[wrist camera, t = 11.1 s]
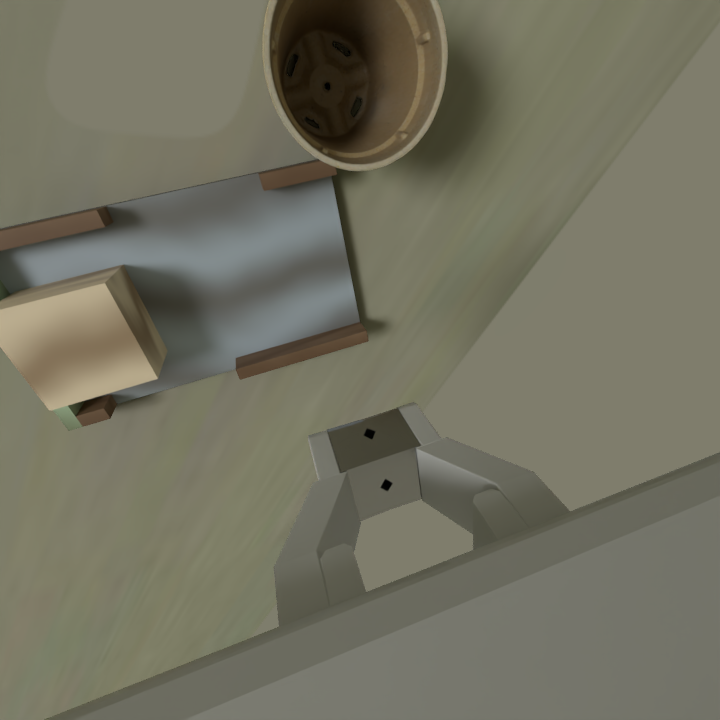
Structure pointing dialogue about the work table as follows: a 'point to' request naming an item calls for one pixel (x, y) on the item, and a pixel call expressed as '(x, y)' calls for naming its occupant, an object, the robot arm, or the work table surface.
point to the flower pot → (356, 75)
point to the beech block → (81, 337)
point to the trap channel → (209, 273)
